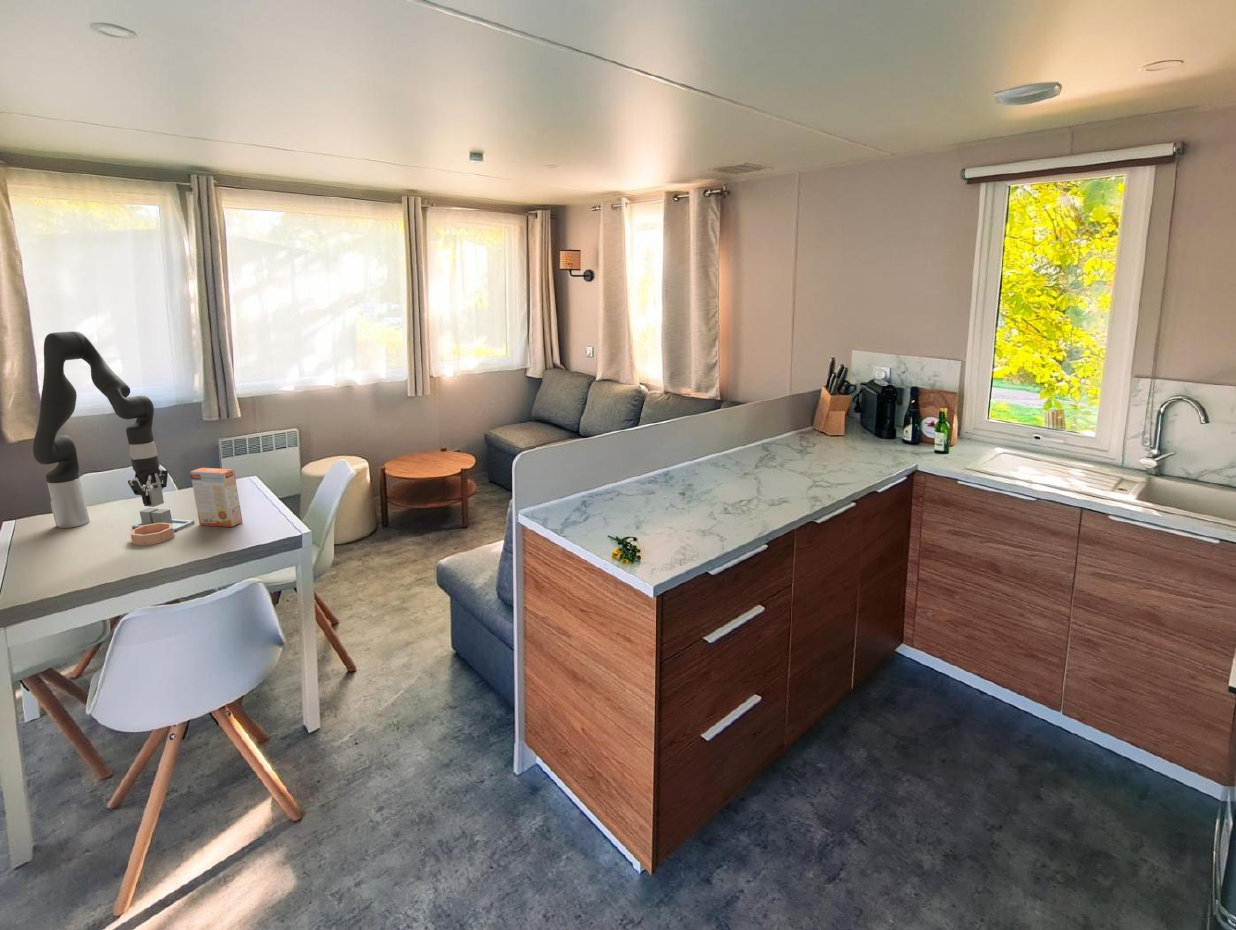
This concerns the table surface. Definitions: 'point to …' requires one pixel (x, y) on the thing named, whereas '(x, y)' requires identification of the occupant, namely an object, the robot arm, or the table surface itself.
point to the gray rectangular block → (162, 516)
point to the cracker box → (216, 497)
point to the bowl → (152, 533)
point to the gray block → (147, 516)
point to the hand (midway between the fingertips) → (153, 502)
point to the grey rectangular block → (155, 496)
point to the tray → (176, 524)
